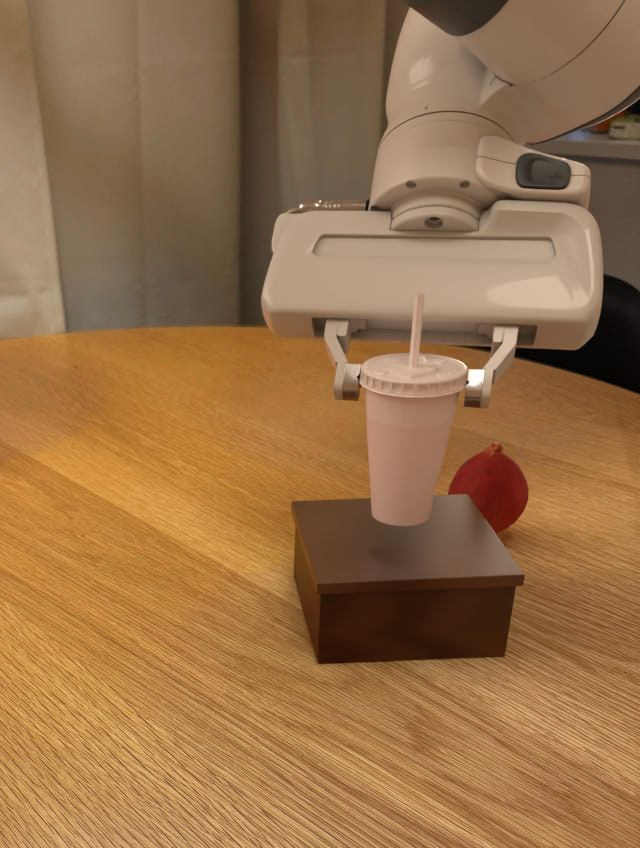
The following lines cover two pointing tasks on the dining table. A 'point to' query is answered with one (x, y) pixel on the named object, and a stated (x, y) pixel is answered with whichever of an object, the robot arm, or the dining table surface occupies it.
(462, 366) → the smoothie
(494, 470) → the onion
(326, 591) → the walnut box
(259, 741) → the dining table surface
